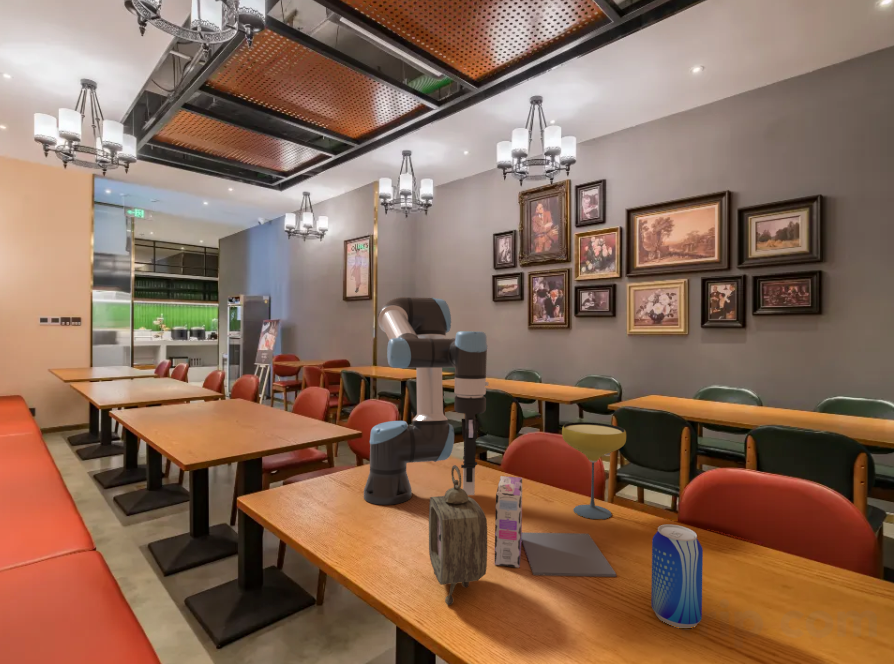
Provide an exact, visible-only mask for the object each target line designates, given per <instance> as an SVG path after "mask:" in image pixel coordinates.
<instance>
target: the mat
mask: <svg viewBox="0 0 894 664" xmlns="http://www.w3.org/2000/svg"><path fill="white" fill-rule="evenodd" d="M521 545H523V549H524V553H525V555H526V558H527V561H528V563H529V567H530V569H531V572H532V575H533V576H552V577H553V576H557V577H559V576H560V577H562V576H563V577H603V578H604V577H607V578H610V577H611V578H612V577H614V578H615V577H616V578H617V573H616V571H615V570H614V568H613V567H612V566H611V564H610V563H609V561H608V559H607V558H606V557H605V556H604V554H603V552H601V549H600V548H599V547H598V546H597V544H596V542H595V541H594V539H593V538H592V537H591V535H590V534H589V533H577V532H576V533H575V532H574V533H572V532H571V533H570V532H565V533H564V532H525V531H524V532H522V539H521Z"/></svg>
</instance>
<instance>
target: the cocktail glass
mask: <svg viewBox="0 0 894 664" xmlns="http://www.w3.org/2000/svg"><path fill="white" fill-rule="evenodd" d="M561 436H562V439H563V440H564V442H565V443H566V444H567V445H568V446H570V447H572V448H573V449H575V450H576V451H578V452H579V453H581V454H583V455H584V456H585V457H586V459H587V460H588V461H589V462H590V463H591V490H590V491H591V492H590V493H591V494H590V503H589V504H580V505H576V506H574V507H575V508H574V507H573V512H574V513H575V514H576V513H577V514H578V515H577V514H576V515H577V516H579V515H580V516H579V517H581V516H583V517H582V518H584V517H585V518H584V519H588V518H590V519H589V520H594V519H603V520H607V518H608V519H610V518H612V514H611V513H612V512H611V511H610V510H609V509H608V508H606V507H603V506H599V505H596V503H595V463H597V462H598V461H599V460H600V458H602V456H605V455H608V454H610V453H614V452H615V451H618V450H620V449H621V448H622V447H624V445H626V441H627V431H626V430H625V429H624V428H622V427H621V426H617V425H614V424H607V423H601V422H587V421H580V422H579V421H577V422H569V423H565V424H563V426H562V429H561ZM609 517H610V518H609Z"/></svg>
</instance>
